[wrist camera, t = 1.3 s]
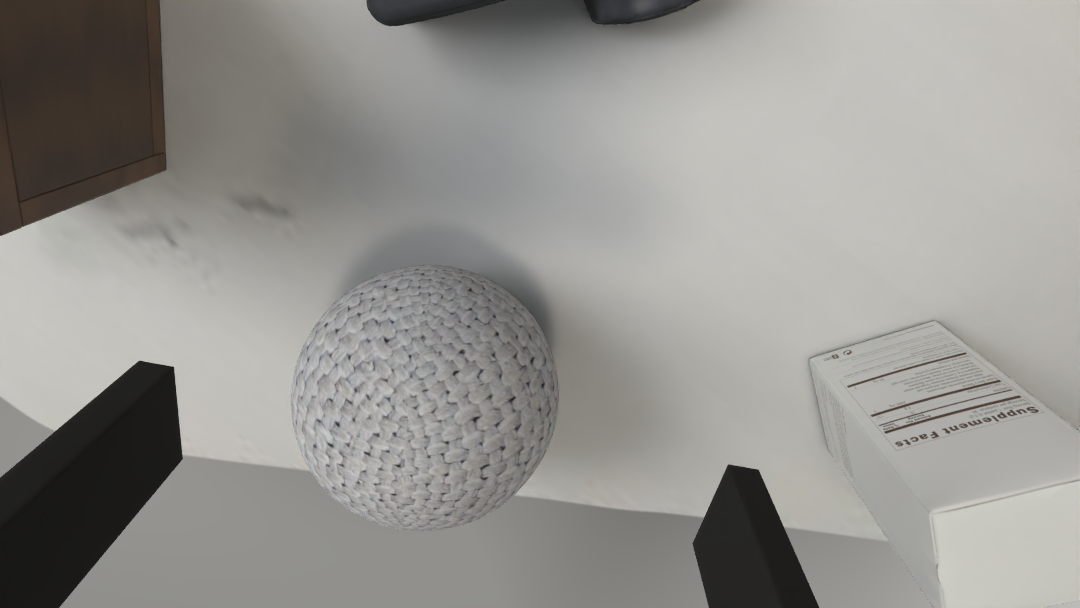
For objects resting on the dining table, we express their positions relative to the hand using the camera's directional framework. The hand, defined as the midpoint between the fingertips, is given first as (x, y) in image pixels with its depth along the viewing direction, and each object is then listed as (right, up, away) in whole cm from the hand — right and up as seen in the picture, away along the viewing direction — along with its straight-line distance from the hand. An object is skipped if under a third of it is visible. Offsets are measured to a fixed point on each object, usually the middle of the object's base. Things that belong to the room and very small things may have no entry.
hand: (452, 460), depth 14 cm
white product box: (+27, -2, +29) cm, 39 cm away
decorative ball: (-4, +2, +27) cm, 28 cm away
